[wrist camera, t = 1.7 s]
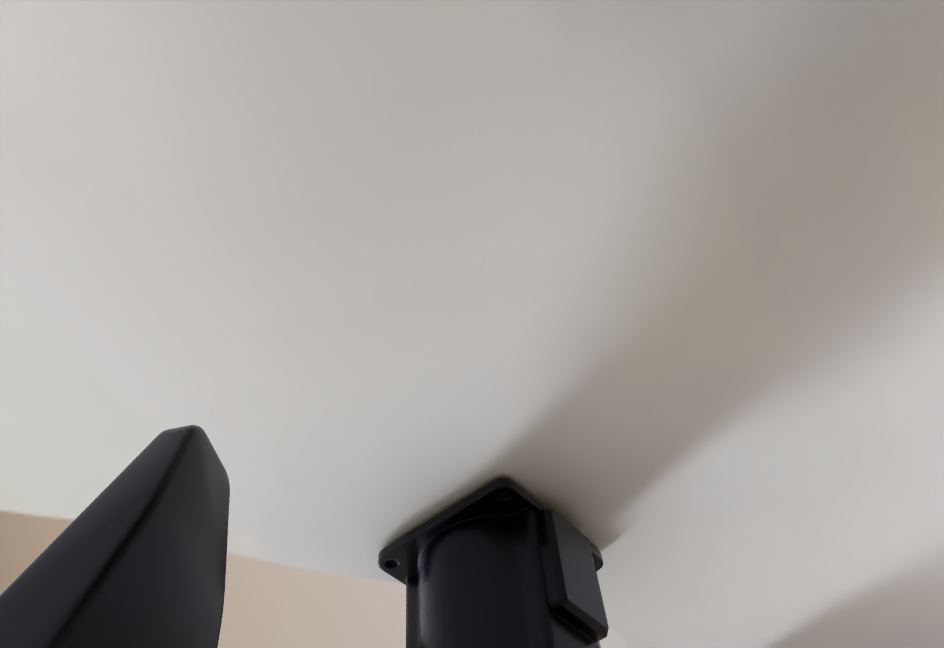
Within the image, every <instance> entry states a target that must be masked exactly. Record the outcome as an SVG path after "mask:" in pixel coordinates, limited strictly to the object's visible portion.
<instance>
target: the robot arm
mask: <svg viewBox="0 0 944 648" xmlns="http://www.w3.org/2000/svg"><path fill="white" fill-rule="evenodd" d="M501 491H506V492H501ZM229 497H230V486H229V480H228V476H227V473H226V470H225V468H224V466H223V465H222V463H221V461H220V459H219V457H218V455H217V453H216V452H215V450H214V448H213V446H212V444H211V442H210V440H209V439H208V437H207V435H206V433H205V432H204V430H203V429H202V428H201V427H199V426H196V425H190V426H184V427H179V428H173V429H168V430H165V431H163V432H162V433H161V434H159V435H158V436H157V437H156V438H155V439H154V440H153V441H152V442H151V443H150V444H149V445H148V446H147V447H146V448H145V449H144V450H143V451H142V452H141V453H140V454H139V455H138V456H137V457H136V458H135V459H134V460H133V462H132V463H131V464H130V465H129V466H128V467H127V468H126V469H125V470H124V471H123V472H122V473H121V474H120V475H119V476H118V477H117V478H116V479H115V480H114V481H113V482H112V483H111V484H110V485H109V486H108V487H107V488H106V489H105V490H104V491H103V492H102V493H101V494H100V495H99V496H98V497H97V498H96V499H95V500H94V501H93V502H92V503H91V504H90V505H89V506H88V507H87V508H86V509H85V510H84V511H83V512H82V513H81V514H80V515H79V516H78V517H77V518H76V519H75V520H74V521H73V522H72V523H71V524H70V525H69V526H68V527H67V528H66V529H65V530H64V531H63V533H62V534H60V536H58V538H57V539H56V540H55V541H54V542H53V543H52V544H51V545H50V546H49V547H48V548H47V549H46V550H45V551H44V552H43V553H42V554H41V555H40V556H39V557H38V558H37V559H36V560H35V561H34V562H33V563H32V564H31V565H30V566H29V567H28V568H27V569H26V570H25V571H24V572H23V573H22V574H21V575H20V576H19V577H18V578H17V579H16V580H15V581H14V582H13V583H12V584H11V585H10V586H9V587H8V588H7V589H6V590H5V591H4V592H3V593H2V594H1V595H0V648H217V646H218V640H219V634H220V628H221V620H222V613H223V604H224V592H225V575H226V574H225V573H226V555H227V536H228V516H229ZM378 564H379V567H380V568H381V569H382V570H383V571H385V572H386V573H388V574H390V575H391V576H393V577H394V578H396V579H397V580H399V581H400V582H402V583H404V584H405V585H406V648H600V643H599V640H601V639H603V638H605V637H606V636H607V633H608V623H607V619H606V614H605V610H604V605H603V601H602V596H601V592H600V587H599V582H598V578H597V573H596V571H598V570H599V569H600V568H601V567H602V566H603V560H602V556H601V553H600V552H599V550H597V549H596V548H595V547H594V546H592V545H591V544H590V542H589V539H588V538H587V537H585V536H584V535H583V534H582V533H581V532H579V531H578V530H577V529H576V528H574V527H573V526H572V525H571V524H570V523H568V522H567V521H566V520H565V519H563V518H562V517H561V516H560V515H558V514H557V513H556V512H555V511H554V510H552V509H549V508H547V507H544V506H543V505H542V504H541V503H539V502H538V501H537V500H536V499H535V498H533V497H532V496H531V495H530V494H528V493H527V492H526V491H525V490H523V489H522V488H521V487H520V486H519V485H517V484H516V483H515V482H514V481H512V480H510V479H506V478H500V479H497V480H494V481H492V482H491V483H489V484H488V485H486V486H484V487H483V488H481V489H479V490H478V491H476V492H475V493H473V494H471V495H470V496H468V497H467V498H465V499H463V500H462V501H460V502H458V503H457V504H455V505H454V506H452V507H450V508H449V509H447V510H446V511H444V512H442V513H441V514H439V515H437V516H436V517H434V518H433V519H431V520H429V521H428V522H426V523H425V524H423V525H421V526H420V527H418V528H416V529H415V530H413V531H412V532H410V533H408V534H407V535H405V536H404V537H402V538H400V539H399V540H397V541H395V542H394V543H392V544H391V545H389V546H387V547H386V548H384V549H383V550H382V551H380V553H379V561H378Z"/></svg>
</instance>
